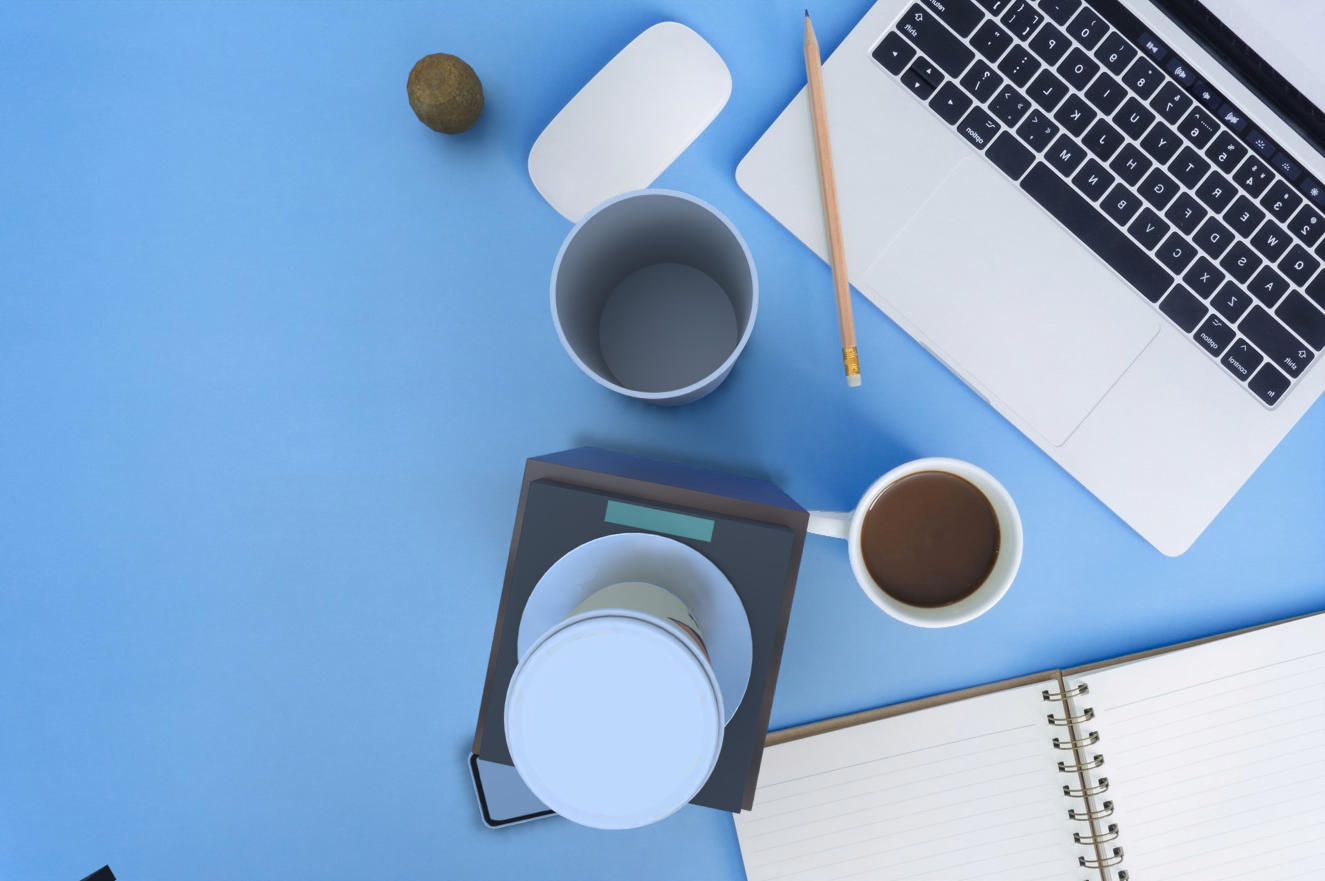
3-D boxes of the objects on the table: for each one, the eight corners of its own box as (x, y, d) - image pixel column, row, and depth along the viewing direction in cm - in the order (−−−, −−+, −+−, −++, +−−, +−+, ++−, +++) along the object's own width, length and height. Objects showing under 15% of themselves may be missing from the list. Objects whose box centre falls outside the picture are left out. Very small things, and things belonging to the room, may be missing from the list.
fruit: (505, 93, 78) (482, 55, 70) (476, 158, 78) (451, 127, 70) (441, 65, 78) (412, 24, 70) (413, 130, 78) (380, 96, 70)
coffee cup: (718, 737, 48) (723, 842, 36) (548, 732, 49) (498, 834, 37) (720, 567, 48) (727, 615, 36) (550, 564, 48) (500, 610, 36)
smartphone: (465, 751, 78) (627, 713, 77) (467, 747, 79) (628, 710, 78) (485, 831, 78) (648, 795, 77) (487, 827, 79) (649, 791, 78)
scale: (738, 792, 52) (740, 815, 49) (490, 740, 52) (477, 760, 49) (790, 526, 51) (795, 533, 48) (539, 477, 52) (529, 481, 49)
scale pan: (727, 785, 49) (728, 789, 48) (499, 737, 49) (497, 741, 49) (772, 556, 48) (773, 557, 48) (542, 510, 49) (540, 511, 48)
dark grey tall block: (734, 681, 78) (751, 811, 52) (547, 643, 78) (471, 753, 52) (773, 482, 77) (810, 513, 51) (584, 446, 78) (526, 457, 52)
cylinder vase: (755, 386, 77) (781, 369, 52) (617, 421, 78) (578, 420, 53) (720, 248, 77) (730, 164, 52) (583, 284, 78) (527, 218, 53)
